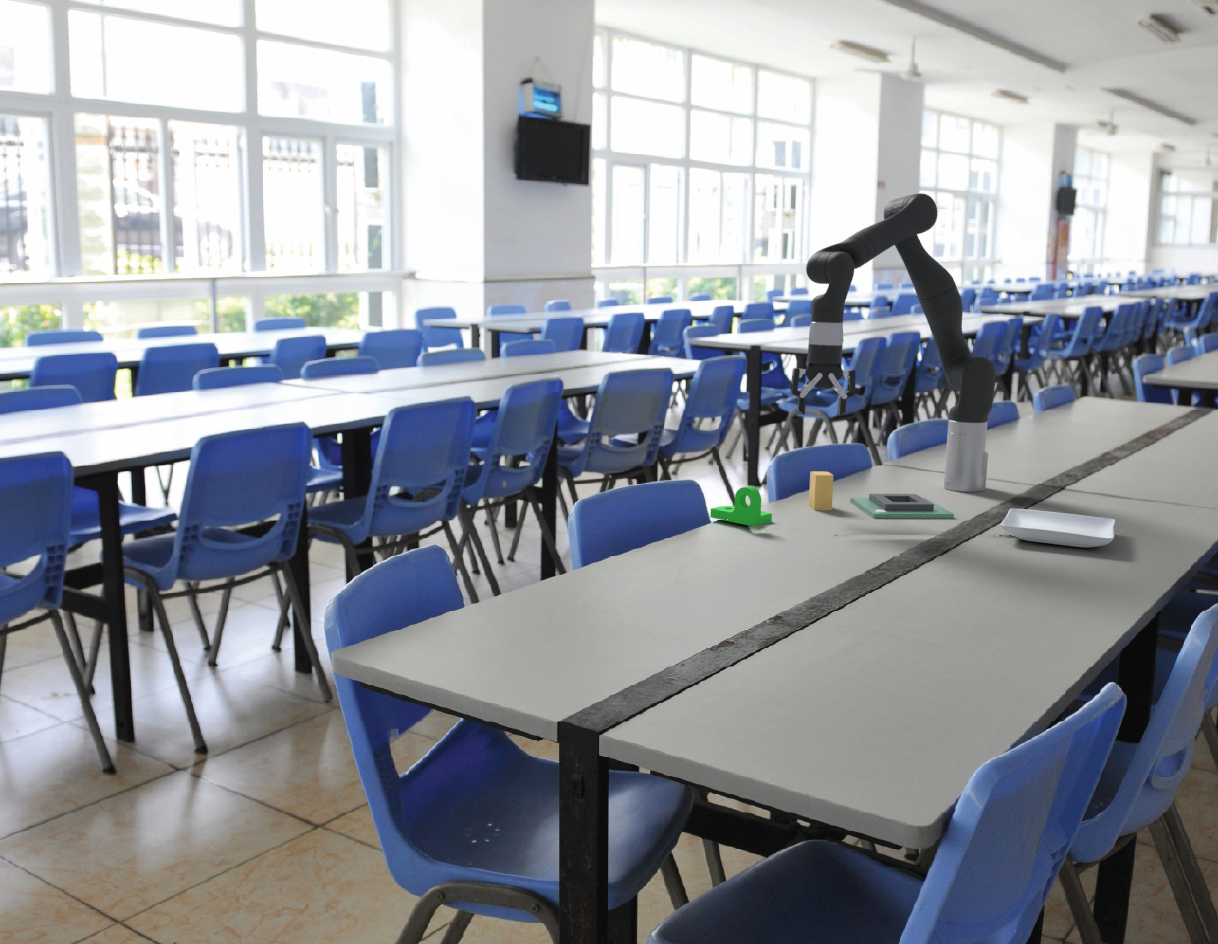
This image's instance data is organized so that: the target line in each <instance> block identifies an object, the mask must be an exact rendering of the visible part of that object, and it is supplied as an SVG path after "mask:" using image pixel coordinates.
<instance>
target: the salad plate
mask: <svg viewBox="0 0 1218 944" xmlns="http://www.w3.org/2000/svg"><path fill="white" fill-rule="evenodd" d="M1115 525H1116V519H1114V518H1108V517H1100V516H1099V517H1098V516H1093V515H1084V514H1074V513H1067V512H1059V511H1056V512H1055V511H1045V510H1035V509H1034V510H1033V509H1024V508H1009V510H1008V513H1007V514H1006V516H1005V517H1004V519H1003V520H1002V521H1001V523H1000V527H1001V529H1002V530H1003V531H1004V532H1005V533H1007V534H1008V535H1011V536H1013V537H1016V538H1018V539H1021V540H1024V541H1028V542H1036V543H1044V544H1053V545H1061V546H1067V547H1068V546H1069V547H1077V548H1096V547H1103V546H1106V545H1109V544H1110V543H1112V541H1113V540H1114V539H1115Z"/></svg>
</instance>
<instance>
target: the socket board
mask: <svg viewBox="0 0 1218 944" xmlns="http://www.w3.org/2000/svg"><path fill="white" fill-rule="evenodd" d="M849 502H850V503H852V504H853V505H854V506H855V507H856V508H858V509H859V510H861V511H863V512H864V513H865V514H867V515H868V516H870V517H871V518H873V519H955V518H954V516H955V513H954V512H951V511H949V510H948V509H946V508H944V507H942V506H941V505H939V504H937V503H936V502H934V501H932V500H931V499H928V498H927V497H922V496H920V495H918V494H916V493H868V497H850V501H849Z"/></svg>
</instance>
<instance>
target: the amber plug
mask: <svg viewBox="0 0 1218 944" xmlns="http://www.w3.org/2000/svg"><path fill="white" fill-rule="evenodd" d="M809 475H810V477H809V493H808V494H809V496H808V506H809V507H810V508H811V509H812V510H814V511H832V510H833V509H832V508H833V494H834V493H833V491H834V474H832V472H829V471H814V470H813V471H810V474H809Z"/></svg>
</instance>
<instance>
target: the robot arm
mask: <svg viewBox="0 0 1218 944" xmlns="http://www.w3.org/2000/svg"><path fill="white" fill-rule="evenodd" d="M937 219H938V207H937V204H936V201H935V200H934V199H933V198H932V196H930V195H929V194H926V193H921V192H919V193H914V194H910V195H906V196H903V197H899V198H896V199H893V200H890V201H889V202H888V203H886V204H885V207H884V210H883V220H881V221H878V222H876V223H874V224H871V225H869V226H867V227H865V228H862V229H861V230H858V231H857V232H855V233H854V234H852V235H850V236H848V237H847V238H846V239H845V240H843V241H840V242H837V243H835V244H832V245H829V246H827V247H823V248H822V249H818V250H817V251H816V252H814V253H813V254H812V255H811V256H810V257H809V258H808V261H807V263H806V267H805V270H806V275H807V277H808V279H809V280H810V281H812V282H813V283H815V284H819V285H820V284H821V285H824V284H825V285H828V286H827V289H826V291H825V293H824V294H819V295H816V296H815V297H813V299H812V303H811V312H810V313H811V317H810V327H809V331H808V347H807V349H808V350H807V365H806V367H805V368H798V367H794V368H792V370H791V371H792V372H791V381H790V387H789V389H790V390H789V391H790V392H789V393H790V394H792V395H794V396H796V397H797V411H798V412H799V414H800V415H802V416H803V415H805V414H806V403H807V401H806V396H807V395H808V393H809V392H810V391H812V389H813V388H816V389H823V388H824V389H832V388H833V390H834V391H835V392H836V393H837V394H838V396H839V397H838V403H837V415H838V416H843V415H844V414H845V413H846V412H847V411H846V409H847V400H848V399H849V398H851V397H854V396H855V395H856V370H854V369H853V368H852V369H851V368H849V369H843V368H842V363H843V362H842V360H843V346H844V345H843V344H844V312H845V303H846V300H847V297H848V293H849V291H850V288H851V285H852V281H853V278H854V274H855V270H857V269H859V268H862V267H863V266H864V265H865V264H868V263H869V262H870V261H872V260H873V259H875V258H876V257H877V256H879V255H880V254H882V253H884V252H885V251H887V250H888V249H890V248H892V247H895V248H896V250H897V252H898V253H899V256H900V258H901V260H902V263H903V264H904V266H905V269H906V272H907V274H908V276H909V278H910V280H911V283H912V285H913V286H912V287H913V288H914V291H915V294H916V297H917V298H918V299H917V300H918V302H919V304H920V307H921V309H922V312H923V314H924V317H925V318H926V321H927V324H928V327H929V330H930V332H931V335H932V337H933V340H934V341H935V344H936V347H937V351H938V354H939V357H940V361H941V364H942V369H943V373H944V376H945V379H946V381H947V383H948V385H949V386H950V387H951V388H952V389H954V390H956V391H957V392H959V398H958V402H957V403H956V404H955V405H954V406H952V407H951V408H950V409H949V411H948V421H947V422H948V423H947V435H946V436H947V437H946V438H947V439H946V450H945V451H946V452H945V465H944V479H943V488H944V489H946V490H950V491H954V492H961V493H962V492H963V493H965V492H967V493H972V492H973V493H975V492H985V491H986V488H987V475H988V474H987V473H988V464H989V463H988V462H989V453H988V452H987V451H986V447H987V446H986V445H987V434H988V433H987V432H988V429H987V428H988V420H989V414H990V413H991V411H992V408H993V403H994V396H995V389H996V377H997V375H996V368H995V366H994V363H993V362H992V361H991V360H990V359H989V358H987V357H985V356H978V355H973V354H972V352H971V350H970V349H969V347H968V344H967V342H966V339H965V337H964V332H963V314H964V313H963V310H964V309H963V301H962V297H961V294H960V292H959V289H958V287H957V285H956V284H957V283H956V282H955V280H954V278H953V275H951V273H950V271H948V270H947V269H946V268H945V267H944V266H943V265H942V264H940V263H939V262H938V261H937V260H936V259H934V258H933V257H932V256H931V254H929V252H927V250H926V249H925V247H924V246H923V244H922V242H921V240H920V237H919V235H920V234H924V233H926V232H927V231H929V230H930V229H932V228H933V227H934V225H935V224H936V222H937ZM803 375H805V376H806V378H807V381H806V382H805V384H804V385H803V387H801V389H800V390H799V382H800V379H801V378H802V377H803ZM843 376H844V378H845V379H846V380H847V391H845V390H844V388H843V386H842V385H841V384H840V382H839V380H841V379H842V377H843Z"/></svg>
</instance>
